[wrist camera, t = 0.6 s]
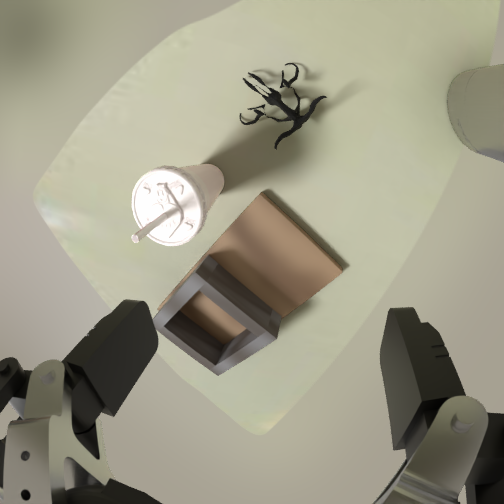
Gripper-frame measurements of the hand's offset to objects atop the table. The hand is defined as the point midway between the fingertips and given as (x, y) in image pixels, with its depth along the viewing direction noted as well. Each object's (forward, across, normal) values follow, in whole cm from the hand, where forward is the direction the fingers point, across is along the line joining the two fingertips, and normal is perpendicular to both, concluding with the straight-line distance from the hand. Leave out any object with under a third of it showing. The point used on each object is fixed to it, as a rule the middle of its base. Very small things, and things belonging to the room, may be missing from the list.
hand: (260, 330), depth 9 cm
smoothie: (+22, +9, -2) cm, 24 cm away
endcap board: (+22, +7, +12) cm, 26 cm away
